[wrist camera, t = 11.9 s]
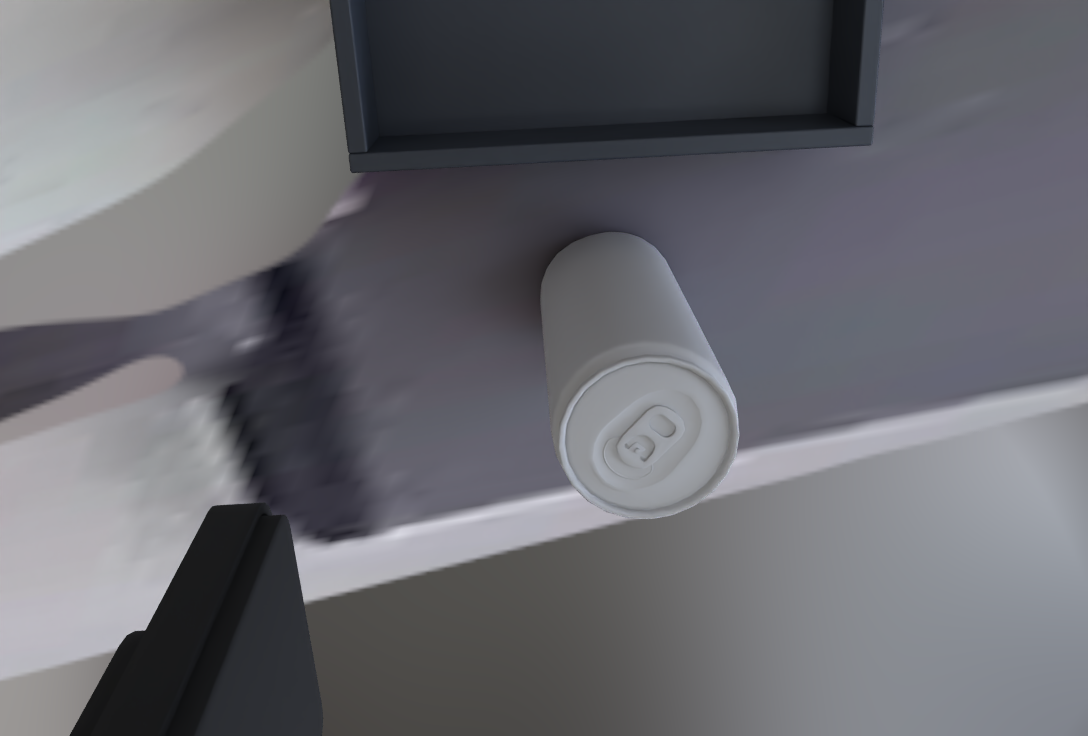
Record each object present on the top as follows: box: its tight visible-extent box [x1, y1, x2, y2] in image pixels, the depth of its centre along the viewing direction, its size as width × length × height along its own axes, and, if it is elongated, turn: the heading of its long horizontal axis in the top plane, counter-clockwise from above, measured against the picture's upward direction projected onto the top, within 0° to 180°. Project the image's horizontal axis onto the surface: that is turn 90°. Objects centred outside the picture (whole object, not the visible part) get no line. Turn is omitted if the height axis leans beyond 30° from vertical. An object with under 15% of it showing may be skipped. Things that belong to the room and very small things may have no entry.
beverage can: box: [540, 232, 739, 519], centre depth 30 cm, size 5×5×12 cm
